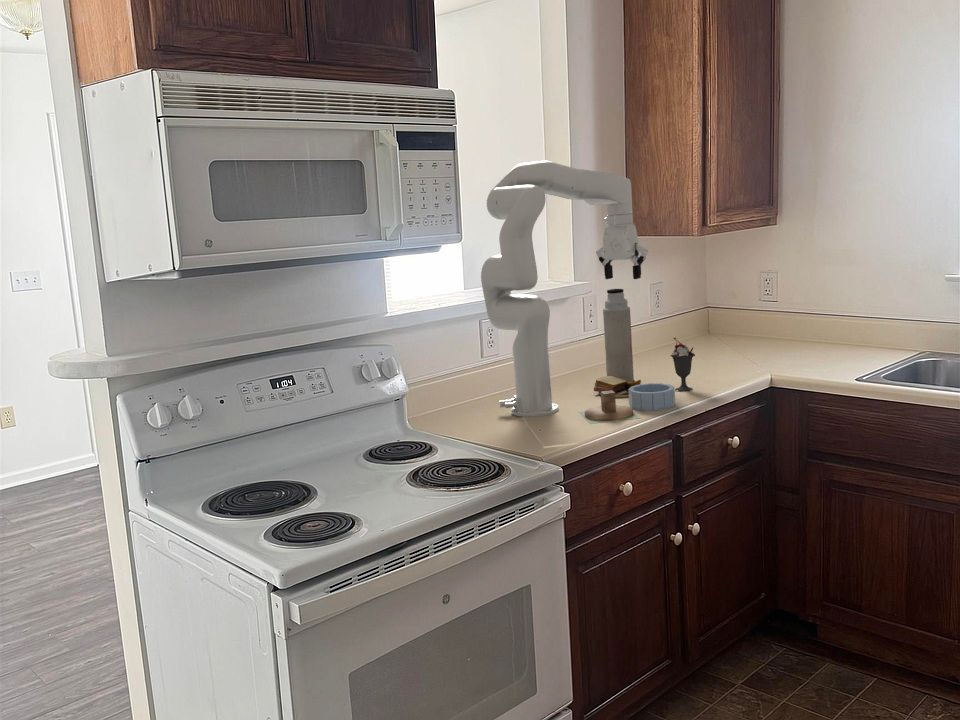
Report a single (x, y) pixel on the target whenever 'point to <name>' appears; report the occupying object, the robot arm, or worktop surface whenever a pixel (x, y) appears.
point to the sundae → (682, 364)
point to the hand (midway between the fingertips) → (622, 278)
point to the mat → (608, 421)
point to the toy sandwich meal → (614, 386)
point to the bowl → (651, 396)
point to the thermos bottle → (618, 336)
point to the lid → (608, 409)
